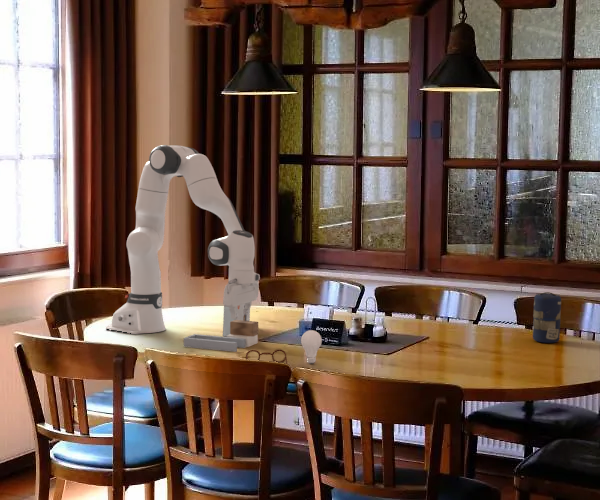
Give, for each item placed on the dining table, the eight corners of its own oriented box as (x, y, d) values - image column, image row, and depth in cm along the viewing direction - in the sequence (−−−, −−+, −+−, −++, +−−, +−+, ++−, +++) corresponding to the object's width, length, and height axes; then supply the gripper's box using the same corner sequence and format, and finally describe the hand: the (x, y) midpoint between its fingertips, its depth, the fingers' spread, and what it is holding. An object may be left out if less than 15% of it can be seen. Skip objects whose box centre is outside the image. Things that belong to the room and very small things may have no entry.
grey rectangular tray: (183, 346, 357) (183, 338, 357) (194, 342, 364) (194, 334, 364) (235, 351, 349) (235, 343, 349) (245, 347, 357) (245, 338, 356)
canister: (537, 337, 377) (539, 289, 375) (563, 340, 372) (564, 291, 370) (529, 342, 369) (530, 292, 367) (555, 345, 364) (556, 295, 362)
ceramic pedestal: (227, 345, 360) (227, 335, 360) (237, 341, 367) (237, 331, 367) (247, 347, 357) (247, 337, 357) (257, 342, 364) (257, 333, 364)
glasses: (286, 363, 334) (286, 348, 333) (289, 373, 321) (289, 357, 320) (245, 364, 333) (245, 349, 332) (246, 373, 320) (246, 357, 319)
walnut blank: (230, 334, 362) (230, 321, 361) (235, 332, 365) (235, 319, 365) (253, 336, 358) (253, 323, 357) (258, 334, 362) (258, 321, 361)
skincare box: (236, 337, 374) (236, 294, 372) (222, 336, 375) (222, 293, 374) (251, 326, 395) (251, 285, 393) (237, 326, 396) (237, 285, 394)
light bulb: (296, 363, 332) (296, 330, 330) (311, 360, 336) (311, 327, 335) (311, 367, 327) (311, 333, 326) (325, 364, 332) (326, 330, 330)
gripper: (235, 281, 349) (234, 322, 350) (262, 274, 367) (260, 313, 369) (219, 280, 351) (218, 320, 353) (246, 273, 370) (245, 311, 371)
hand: (240, 316), depth 361 cm, fingers open, 8 cm apart
